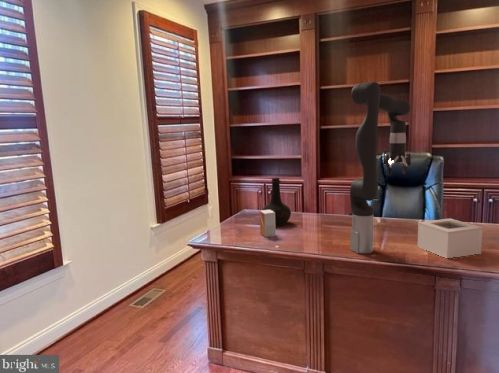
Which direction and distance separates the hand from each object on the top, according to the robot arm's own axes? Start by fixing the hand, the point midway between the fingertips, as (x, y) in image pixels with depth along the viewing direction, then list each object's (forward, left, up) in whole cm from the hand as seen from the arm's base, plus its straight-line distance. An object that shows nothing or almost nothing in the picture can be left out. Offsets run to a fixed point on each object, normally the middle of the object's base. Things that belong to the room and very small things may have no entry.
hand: (396, 174), depth 192 cm
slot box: (+7, -28, -32) cm, 43 cm away
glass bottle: (-48, +48, -32) cm, 75 cm away
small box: (-60, +28, -32) cm, 74 cm away
